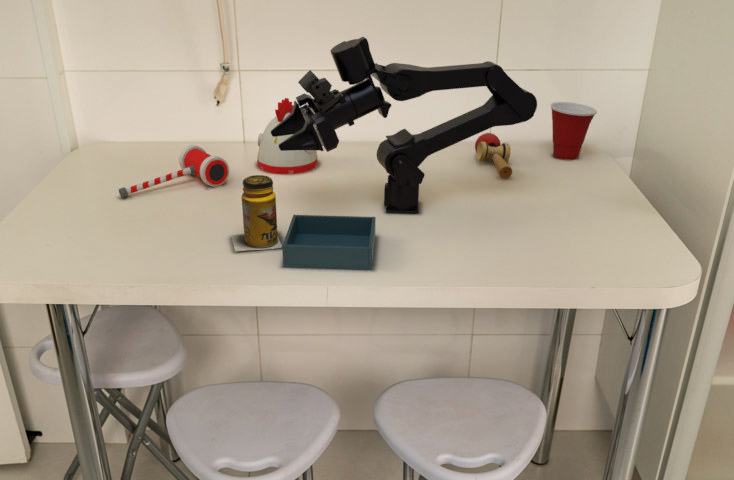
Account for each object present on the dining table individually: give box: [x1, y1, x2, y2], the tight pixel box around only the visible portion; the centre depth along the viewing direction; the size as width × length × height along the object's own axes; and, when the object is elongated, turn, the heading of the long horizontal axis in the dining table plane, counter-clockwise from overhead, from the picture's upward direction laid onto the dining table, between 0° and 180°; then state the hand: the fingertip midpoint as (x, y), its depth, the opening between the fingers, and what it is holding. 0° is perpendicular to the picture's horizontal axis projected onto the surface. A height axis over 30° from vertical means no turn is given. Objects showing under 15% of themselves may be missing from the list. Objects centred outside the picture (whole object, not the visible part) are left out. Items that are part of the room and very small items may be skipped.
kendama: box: [474, 132, 513, 180], centre depth 180 cm, size 8×6×18 cm
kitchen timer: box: [257, 97, 318, 175], centre depth 178 cm, size 14×14×15 cm
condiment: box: [230, 174, 283, 252], centre depth 140 cm, size 7×8×12 cm
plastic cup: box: [550, 101, 598, 161], centre depth 185 cm, size 11×11×12 cm
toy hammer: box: [118, 144, 230, 199], centre depth 167 cm, size 23×12×6 cm, turn 127°
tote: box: [281, 214, 377, 271], centre depth 138 cm, size 15×14×4 cm
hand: (275, 140), depth 145 cm, fingers open, 9 cm apart
